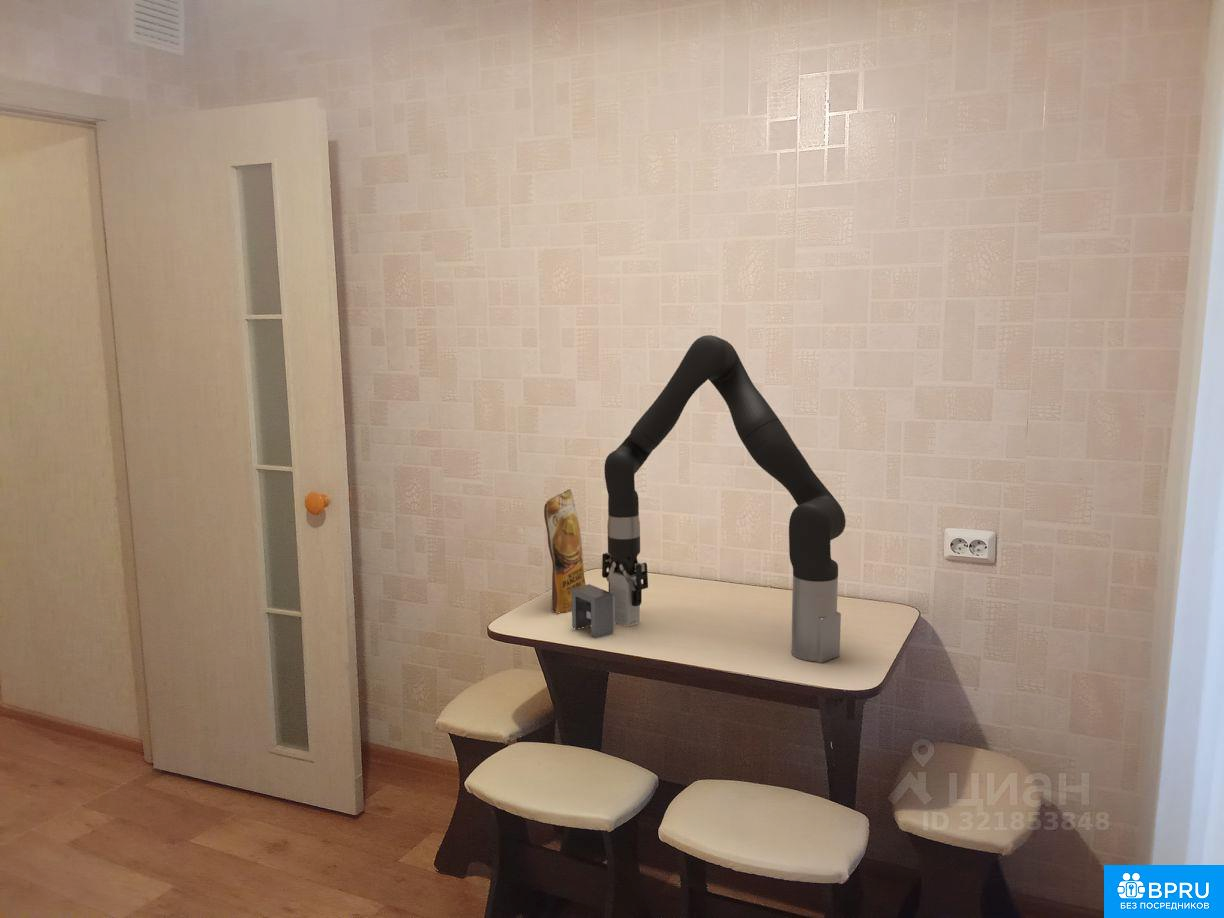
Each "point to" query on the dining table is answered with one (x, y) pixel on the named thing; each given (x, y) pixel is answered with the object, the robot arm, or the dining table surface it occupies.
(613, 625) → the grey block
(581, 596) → the grey hollow block
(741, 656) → the dining table surface
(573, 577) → the pancake mix bag
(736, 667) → the dining table surface
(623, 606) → the skincare box
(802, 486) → the robot arm
